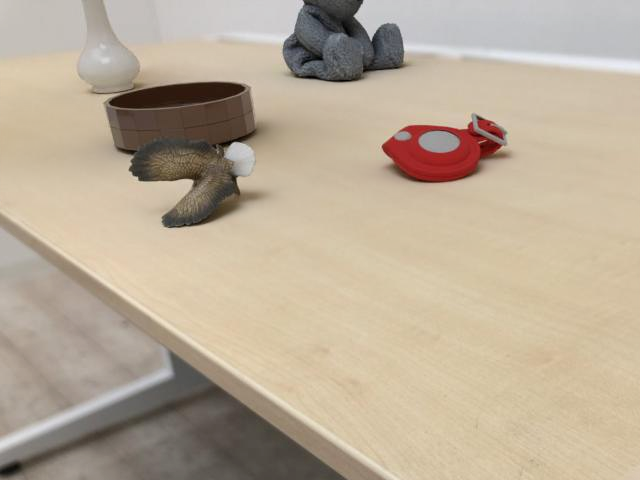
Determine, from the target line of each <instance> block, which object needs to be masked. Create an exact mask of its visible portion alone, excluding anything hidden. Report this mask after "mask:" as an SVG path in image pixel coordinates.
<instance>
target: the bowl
mask: <svg viewBox="0 0 640 480" xmlns="http://www.w3.org/2000/svg"><path fill="white" fill-rule="evenodd" d="M102 105H103V109H104V112H105V117H106V121H107V125H108V129H109V134H110V138H111V141H112V143H113V144H114V146H115V147H117V148H119V149H123V150H127V151H135V152H137V151H138V148H139V147H141V146H144V144H146V143H149V142H150V141H154V140H155V139H160V137H166V136H169V137H171V138H178V139H188V140H194V141H196V140H201V139H203V140H205V141H206V142H208V143H209V144H210V145H211V146H212V147H217V146H216V145H217V144H218V145H220V144H221V145H224V143H225V144H227V142H228V143H230V142H229V141H231V142H233V141H235V140H238V139H239V138H242V137H244V136H247V135H249V134H250V133H252V132H254V131H255V130H256V129H257V125H258V122H257V117H256V110H255V105H254V98H253V91H252V86H250V85H248V84H247V83H242V82H237V81H222V80H213V81H212V80H208V81H206V80H205V81H191V82H179V83H169V84H163V85H162V84H161V85H155V86H150V87H143V88H138V89H135V90H130V91H129V90H128V91H126V92H125V91H124V92H121V93H119V94H115V95H113V96H111V97H108V98H107V99H105V100H104V101H103V102H102ZM234 139H235V140H234ZM232 140H233V141H232ZM221 145H220V146H221Z"/></svg>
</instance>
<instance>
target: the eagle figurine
mask: <svg viewBox="0 0 640 480" xmlns="http://www.w3.org/2000/svg"><path fill="white" fill-rule="evenodd" d="M215 147H216V148H215ZM256 163H257V157H256V152H255V150H254V149H253V148H252V146H250V145H248V144H245V143H243V142H241V141H240V142H238V141H234V142H233V141H232V142H231V144H230V145H229V147H228V148H227V150H226V151H225V148H224V146H222V145H218V144H217V145H216V146H213V147H212V146H211V145H210V144H209V143H208V142H206V141H205V140H203V139H201V140H196V141H194V140H188V139H178V138H171V137H169V136H166V137H160V139H155V140H154V141H150V142H149V143H146V144H144V146H141V147H139V148H138V151H135V152H134V154H133V157H132V158H131V159H130V166H129V167H128V172H130V173H131V176H132V177H136V178H137V181H139V182H147V183H149V182H150V183H151V182H176V181H181V180H191V181H193V182H192V185H191V187H190V188H189V190H188V192H187V193H186V194H185V195H184V196H183V197H182V198H181V199H180V200H179V201H178V202H177V203H176V205H175V206H173V208H171V209H170V210H169V211H167V212H166V213H164V214H163V215H161V218H160V219H161V223H162V225H163V227H167V228H172V227H181V226H184V225H186V226H190V225H191V224H192V223H193V224H196V223H198V222H200V221H202V220H203V219H205V218H207V217H208V216H209V215H211V214H212V213H213V211H214V209H216V208H217V207H218V206H219V204H220V203H222V202H223V201H225V199H226V198H230V197H232V196H233V195H235V196H238V197H240V196H241V195H242V194H241V189H240V188H239V185H238V177H241V178H247V177H250V176H251V175H252V174H253V172H254V168H255V165H256Z"/></svg>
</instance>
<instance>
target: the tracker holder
mask: <svg viewBox="0 0 640 480" xmlns="http://www.w3.org/2000/svg"><path fill="white" fill-rule="evenodd" d="M470 117H471V121H470V122H469V123H467V128H458V127H457V128H455V127H451V126H443V125H431V124H409V125H407V126H404V127H403V128H401V129H399V130H398V131H397V132H396V133H395V134H393V135H391V137H390V138H389V139H388V140H386V141H385V142H383V143H382V144H381V149H382V152H383V153H384V154H385V155H386V156H387V157H388V158H390V159H391V160H392V161H393V162H394V164H395V165H397V166H398V168H400V170H402V171H403V172H405V173H406V174H407V175H408V176H410V177H413V178H415V179H419V180H422V181H426V182H438V183H439V182H451V181H455V180H459V179H461V178H465V177H466V176H468V175H470V174H471V173H472V172H473V171H475V170H476V168H477V166H478V164H479V161H480V159H481V158H484V157H486V156H487V157H488V156H490V155H494V153H496V152H497V151H499V150H500V149H501V148H502V147H507V146H508V140H507V136H506V135H508V134H509V133H508V131H507V130H506V129H505V128H504V127H503V126H501V125H499V124H497V123H496V122H495V121H492V120H489V119H487V118H485V117H483V116H482V115H479V114H477V113H476V112H472V113H471V115H470Z"/></svg>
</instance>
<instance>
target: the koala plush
mask: <svg viewBox="0 0 640 480" xmlns="http://www.w3.org/2000/svg"><path fill="white" fill-rule="evenodd" d="M302 2H303V5H302V7H300V9H299V11H298V12H297V13H298V14H297V19H296V22H295V25H294V28H293V30H294V31H293V33H291V34H290V35H289V36H288V37H286V39H285V40H284V41H283V45H282V49H281V50H282V52H281V53H282V57H283V60H284V62H285V65H286V66H287V68H288V69H289V70H290V72H292V73H293V74H294V75H297V76H299V77H309V76H312V77H316V78H318V79H322V80H326V81H347V80H348V81H352V80H355V79H356V80H357V79H358V78H359V77H361V76H363V71H366V70H367V71H369V70H382V69H395V68H397V67H398V68H399V67H401V66H402V65H403V64H404V59H405V46H404V40H403V36H402V33H401V29H400V27H399V26H398V25H397V23H396V22H395V23H394V22H392V23H390V22H387V23H384V24H381V25H379V27H378V28H377V29H376V30H375V32H374V33H373V35H372V38H370V35H369V33H368V32H367V30H366V29H365V27H364V26H363V24H362V23H361V22H360V21H359V20H358V19H357V18H356V17H355V15H356V14H357V13H358V12H359V11H360V9H361V7H362V5H363V4H364V0H302Z"/></svg>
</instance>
